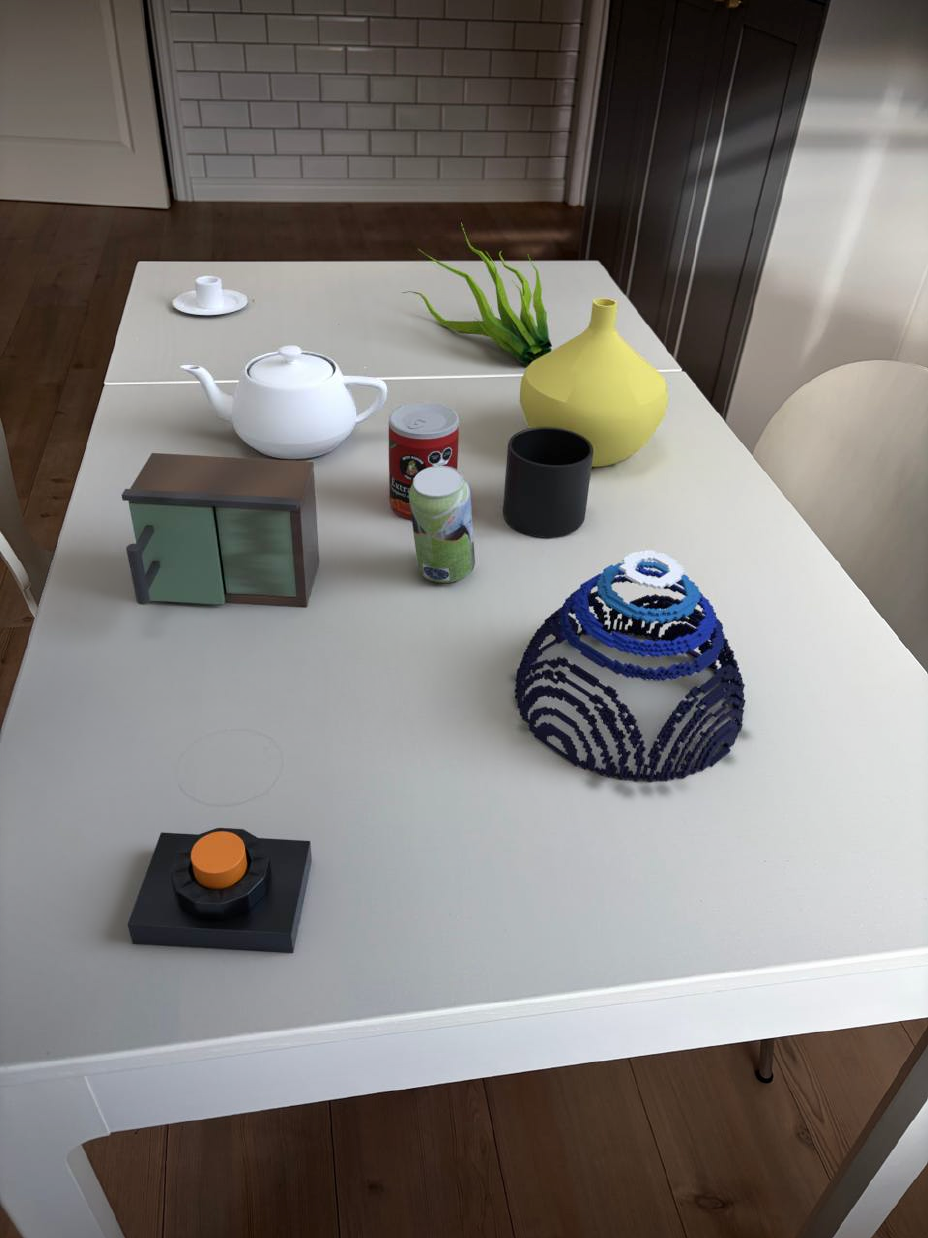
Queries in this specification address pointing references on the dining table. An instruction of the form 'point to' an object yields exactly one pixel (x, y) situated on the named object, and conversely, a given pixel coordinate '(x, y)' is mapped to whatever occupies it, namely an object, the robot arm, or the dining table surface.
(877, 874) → the dining table surface
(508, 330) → the decorative plant
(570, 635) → the decorative bowl
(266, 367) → the teapot
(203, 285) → the candle holder
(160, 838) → the switch block
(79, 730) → the dining table surface
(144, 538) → the closet door
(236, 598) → the closet
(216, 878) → the button
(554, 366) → the vase
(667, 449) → the dining table surface
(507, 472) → the mug
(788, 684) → the dining table surface
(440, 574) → the beverage can
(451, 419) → the canned food
